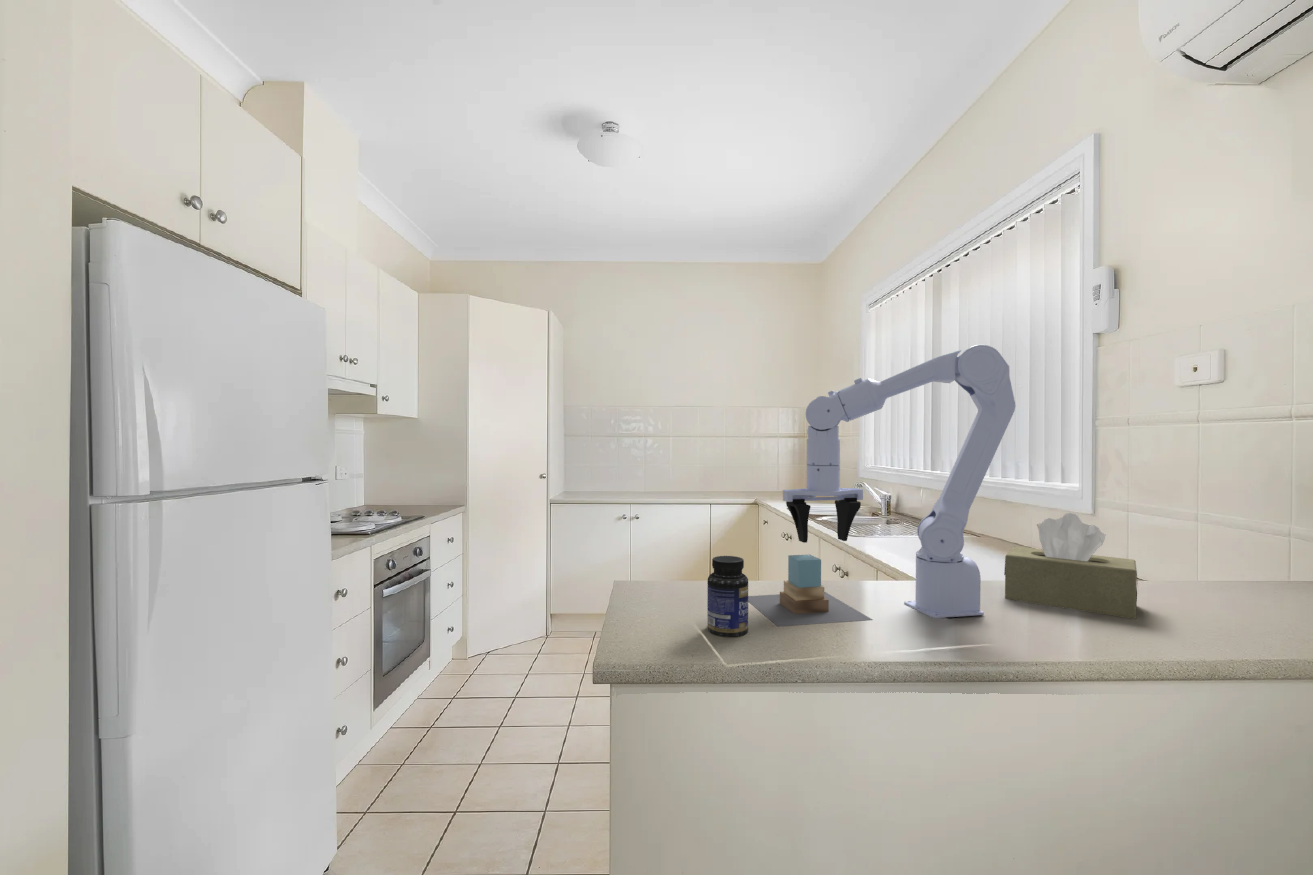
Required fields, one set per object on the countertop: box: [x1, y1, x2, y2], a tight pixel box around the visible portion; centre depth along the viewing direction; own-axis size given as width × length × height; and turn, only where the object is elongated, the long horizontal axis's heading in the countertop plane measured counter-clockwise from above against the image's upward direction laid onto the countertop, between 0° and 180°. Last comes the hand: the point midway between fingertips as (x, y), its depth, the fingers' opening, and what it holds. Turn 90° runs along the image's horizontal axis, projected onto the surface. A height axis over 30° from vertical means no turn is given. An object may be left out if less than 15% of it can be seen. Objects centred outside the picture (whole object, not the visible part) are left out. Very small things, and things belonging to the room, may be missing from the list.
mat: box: [748, 591, 874, 628], centre depth 99 cm, size 16×16×1 cm
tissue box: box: [1003, 512, 1139, 620], centre depth 103 cm, size 19×10×16 cm, turn 52°
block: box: [787, 553, 822, 588], centre depth 98 cm, size 4×4×4 cm
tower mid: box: [783, 580, 825, 601], centre depth 99 cm, size 5×5×2 cm
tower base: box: [779, 590, 829, 614], centre depth 99 cm, size 6×6×2 cm
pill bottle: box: [706, 555, 749, 638], centre depth 88 cm, size 6×6×11 cm
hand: (822, 540), depth 104 cm, fingers open, 7 cm apart
